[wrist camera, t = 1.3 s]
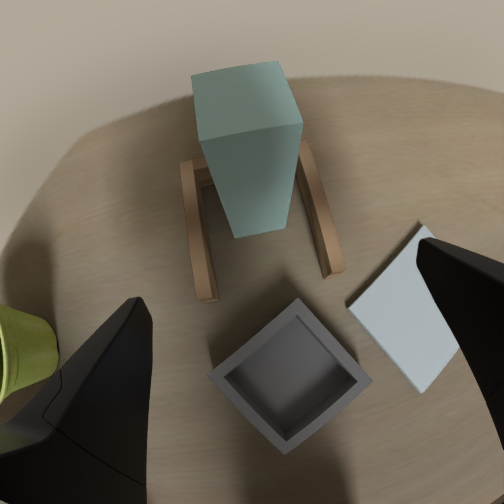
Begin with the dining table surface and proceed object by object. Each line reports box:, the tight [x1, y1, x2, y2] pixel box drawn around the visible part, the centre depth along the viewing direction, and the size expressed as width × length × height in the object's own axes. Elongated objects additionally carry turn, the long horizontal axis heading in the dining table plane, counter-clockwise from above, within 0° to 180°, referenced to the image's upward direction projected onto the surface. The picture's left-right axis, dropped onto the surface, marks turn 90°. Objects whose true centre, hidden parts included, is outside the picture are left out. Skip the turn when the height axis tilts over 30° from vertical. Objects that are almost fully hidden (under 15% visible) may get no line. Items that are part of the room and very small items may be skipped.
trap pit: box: [207, 298, 373, 455], centre depth 19 cm, size 8×8×2 cm
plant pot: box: [0, 304, 59, 404], centre depth 17 cm, size 9×9×9 cm
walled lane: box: [180, 138, 346, 303], centre depth 22 cm, size 10×10×3 cm
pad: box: [347, 225, 460, 394], centre depth 20 cm, size 10×10×1 cm
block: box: [191, 61, 304, 239], centre depth 17 cm, size 4×4×13 cm
